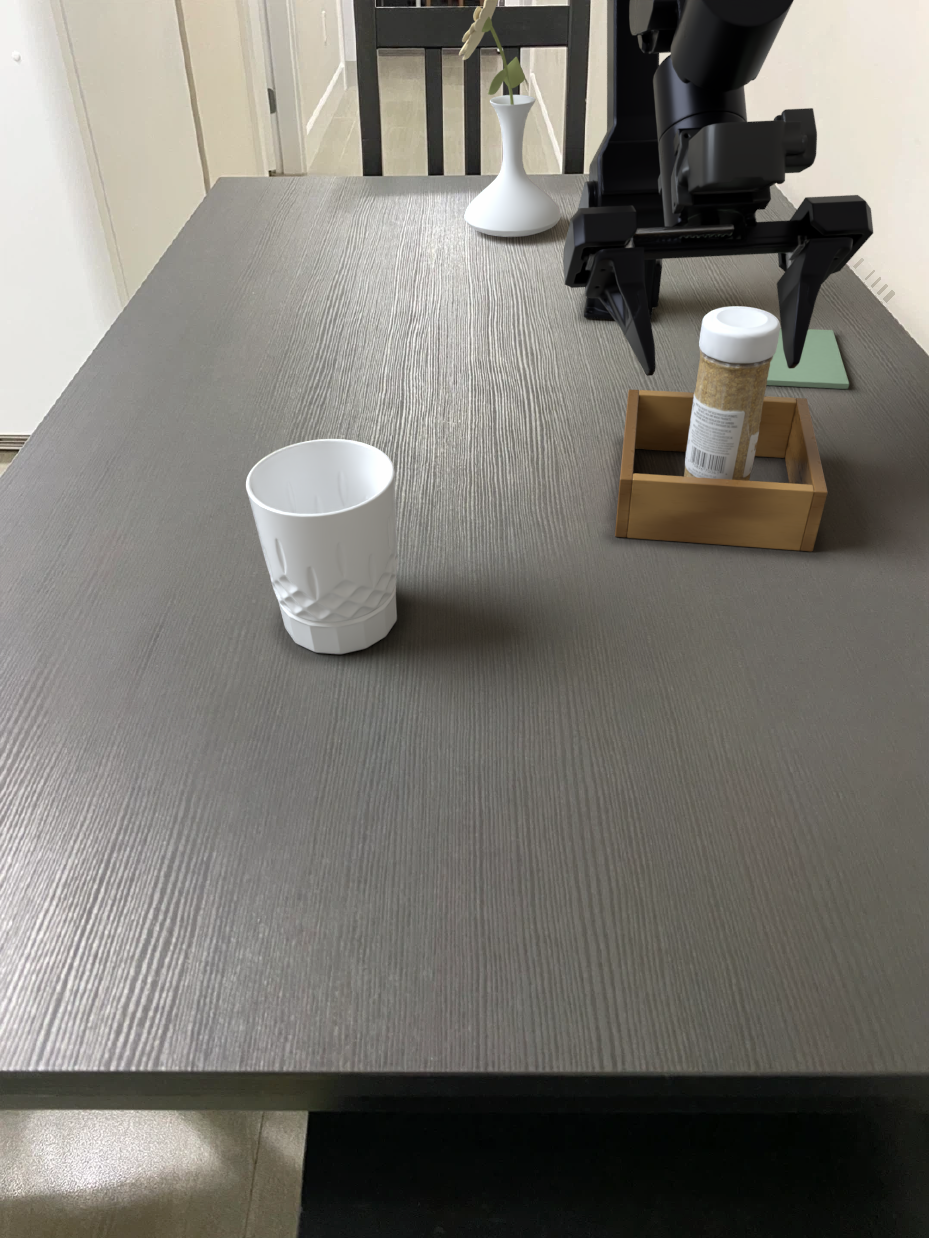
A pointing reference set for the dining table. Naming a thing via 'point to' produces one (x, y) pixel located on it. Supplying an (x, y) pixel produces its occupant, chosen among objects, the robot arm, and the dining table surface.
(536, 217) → the flower in vase
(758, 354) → the sprinkles bottle
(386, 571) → the white cup
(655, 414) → the wooden box
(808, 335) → the mat
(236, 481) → the dining table surface
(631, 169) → the robot arm
